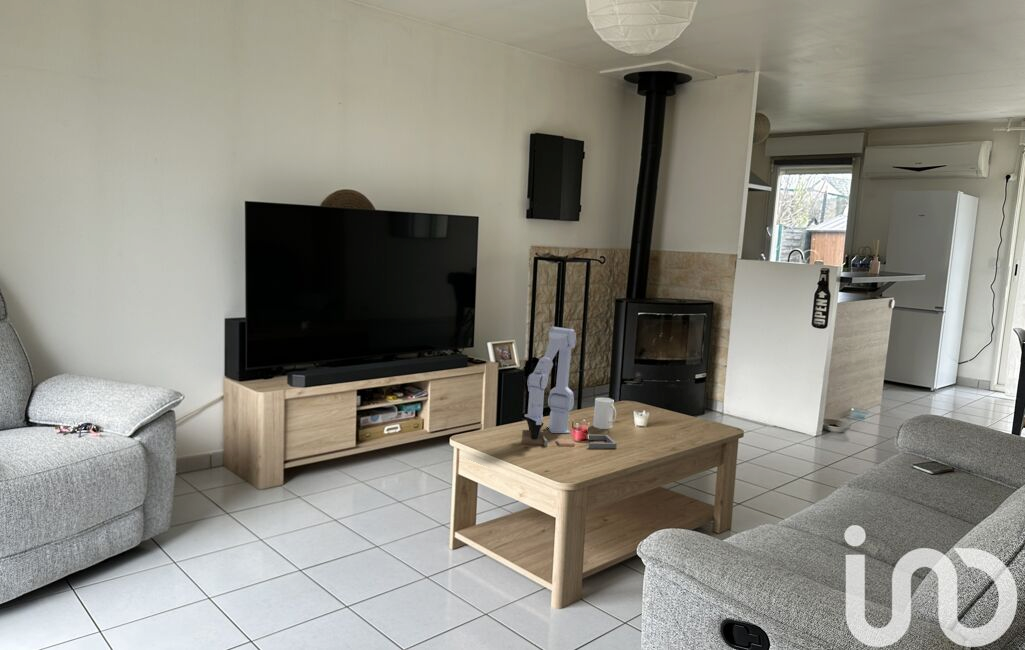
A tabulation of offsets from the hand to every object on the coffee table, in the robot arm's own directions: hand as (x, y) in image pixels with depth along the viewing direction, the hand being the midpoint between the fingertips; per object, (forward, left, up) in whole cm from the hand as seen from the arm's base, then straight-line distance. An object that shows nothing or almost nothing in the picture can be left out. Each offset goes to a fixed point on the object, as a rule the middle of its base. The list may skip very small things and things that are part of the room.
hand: (533, 438), depth 278 cm
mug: (-24, +37, -2) cm, 44 cm away
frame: (0, +26, -2) cm, 26 cm away
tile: (0, +13, -3) cm, 13 cm away
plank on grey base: (0, 0, -2) cm, 2 cm away
